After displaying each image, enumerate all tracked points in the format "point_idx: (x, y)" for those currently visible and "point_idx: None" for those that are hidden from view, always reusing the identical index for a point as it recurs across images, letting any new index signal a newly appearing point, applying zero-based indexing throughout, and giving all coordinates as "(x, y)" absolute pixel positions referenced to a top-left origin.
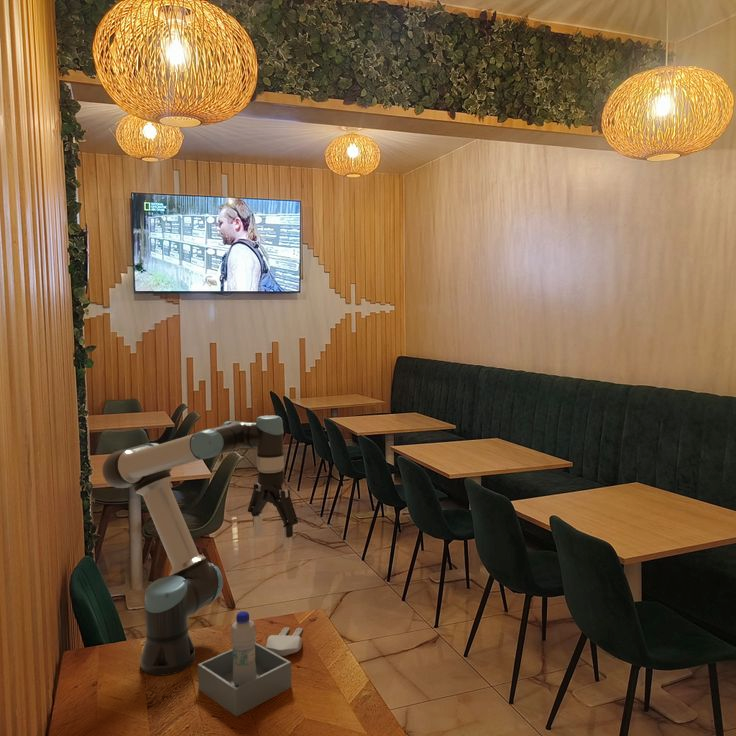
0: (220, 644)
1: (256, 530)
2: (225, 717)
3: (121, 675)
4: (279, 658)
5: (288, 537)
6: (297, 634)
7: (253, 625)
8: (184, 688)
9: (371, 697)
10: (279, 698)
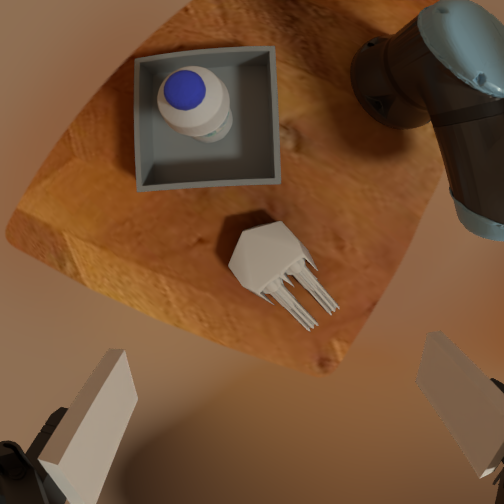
0: (385, 182)
1: (451, 369)
2: None
3: (402, 18)
4: (168, 184)
5: (60, 408)
6: (283, 303)
7: (163, 116)
8: (293, 50)
9: (56, 265)
10: None
